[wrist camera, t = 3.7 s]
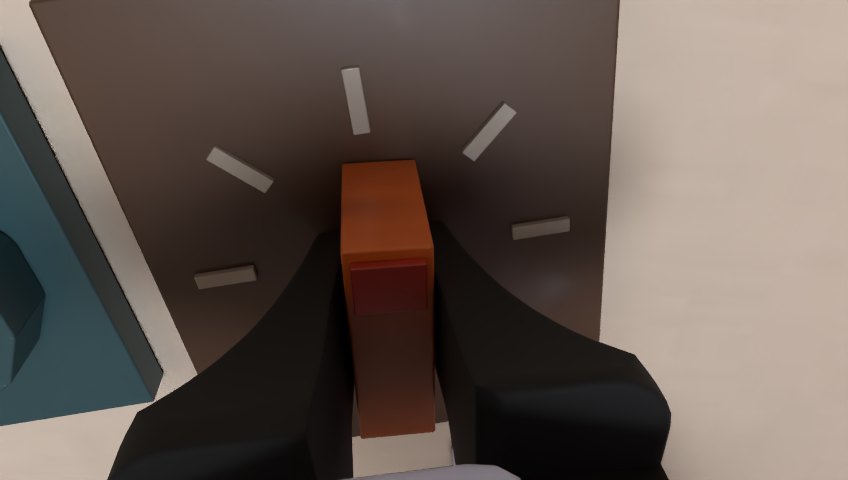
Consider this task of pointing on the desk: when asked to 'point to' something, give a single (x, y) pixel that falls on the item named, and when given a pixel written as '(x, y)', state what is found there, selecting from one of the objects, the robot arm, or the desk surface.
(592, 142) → the dial board
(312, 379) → the robot arm
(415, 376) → the dial knob
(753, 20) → the desk surface
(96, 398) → the button block
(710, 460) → the desk surface
